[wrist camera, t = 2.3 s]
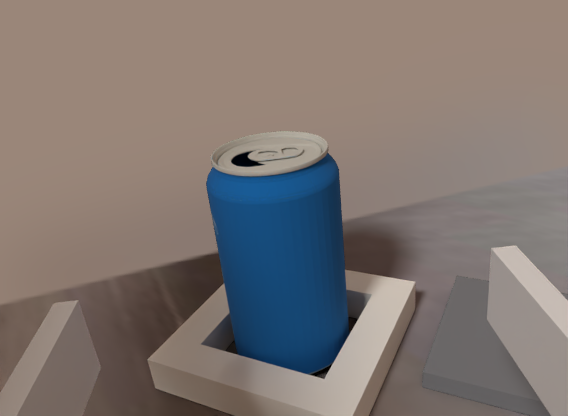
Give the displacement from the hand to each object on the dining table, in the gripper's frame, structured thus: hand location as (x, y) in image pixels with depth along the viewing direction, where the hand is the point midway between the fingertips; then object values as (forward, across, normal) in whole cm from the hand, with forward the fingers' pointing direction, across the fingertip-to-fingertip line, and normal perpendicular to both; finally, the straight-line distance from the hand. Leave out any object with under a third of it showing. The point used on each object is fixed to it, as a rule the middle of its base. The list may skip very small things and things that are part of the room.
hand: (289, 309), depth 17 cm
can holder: (+10, 0, -10) cm, 14 cm away
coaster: (+8, +12, -10) cm, 17 cm away
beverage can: (+10, 0, -10) cm, 14 cm away
